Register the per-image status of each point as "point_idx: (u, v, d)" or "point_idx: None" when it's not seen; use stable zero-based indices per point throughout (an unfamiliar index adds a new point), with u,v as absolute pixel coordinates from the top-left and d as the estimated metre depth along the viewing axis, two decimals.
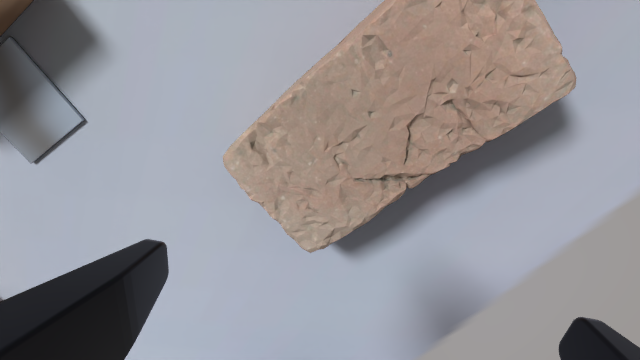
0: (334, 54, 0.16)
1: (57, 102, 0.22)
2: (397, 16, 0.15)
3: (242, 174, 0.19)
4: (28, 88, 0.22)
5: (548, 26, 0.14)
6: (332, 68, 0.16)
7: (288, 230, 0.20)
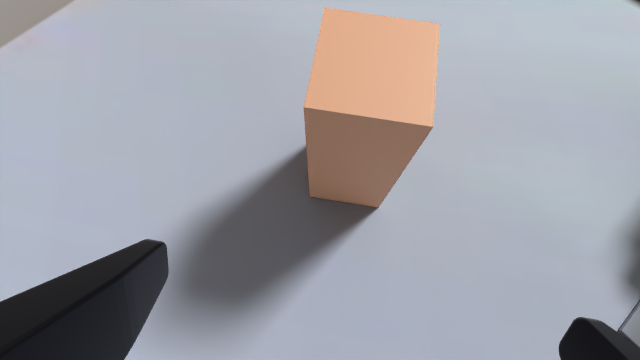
0: None
1: None
2: None
3: None
4: None
5: None
6: None
7: None
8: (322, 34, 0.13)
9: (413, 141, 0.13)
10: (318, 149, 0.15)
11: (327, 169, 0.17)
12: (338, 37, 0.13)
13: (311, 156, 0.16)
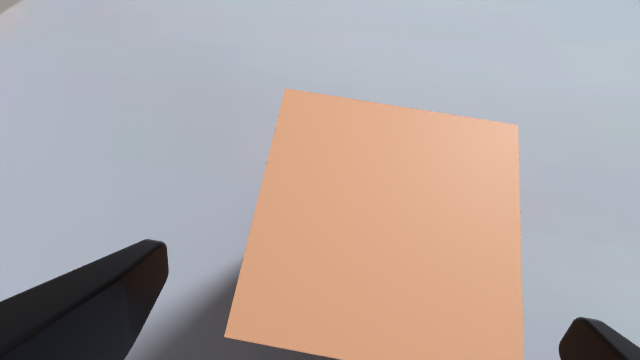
0: None
1: None
2: None
3: None
4: None
5: None
6: None
7: None
8: (277, 148, 0.06)
9: None
10: None
11: None
12: (310, 155, 0.06)
13: None
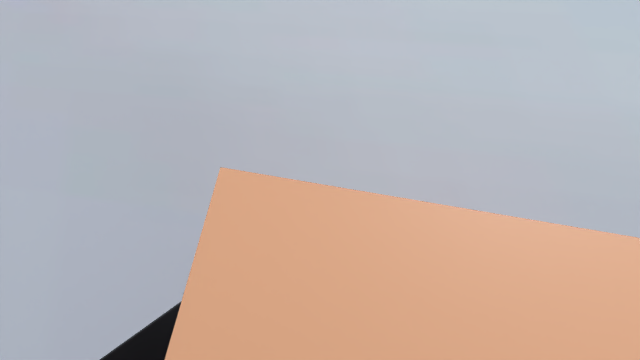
0: None
1: None
2: None
3: None
4: None
5: None
6: None
7: None
8: (198, 289, 0.03)
9: None
10: None
11: None
12: (259, 305, 0.03)
13: None
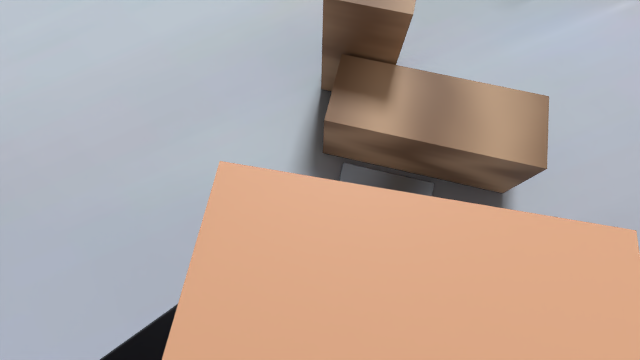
0: None
1: None
2: None
3: None
4: None
5: None
6: None
7: None
8: (198, 281, 0.03)
9: None
10: None
11: None
12: (258, 297, 0.03)
13: None
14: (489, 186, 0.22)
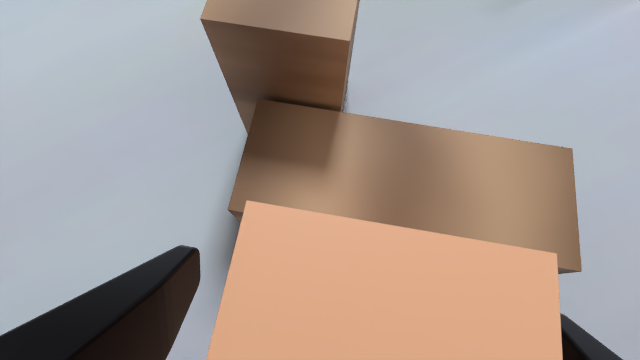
0: None
1: None
2: None
3: None
4: None
5: None
6: None
7: None
8: (233, 291, 0.05)
9: None
10: None
11: None
12: (277, 303, 0.05)
13: None
14: None
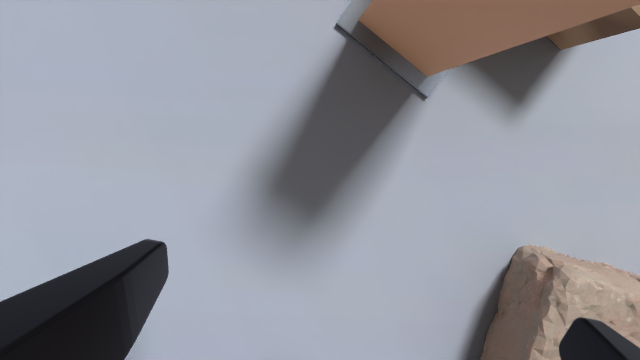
0: None
1: None
2: None
3: None
4: None
5: None
6: None
7: (608, 291, 0.17)
8: None
9: (588, 9, 0.08)
10: None
11: None
12: None
13: None
14: (554, 34, 0.18)
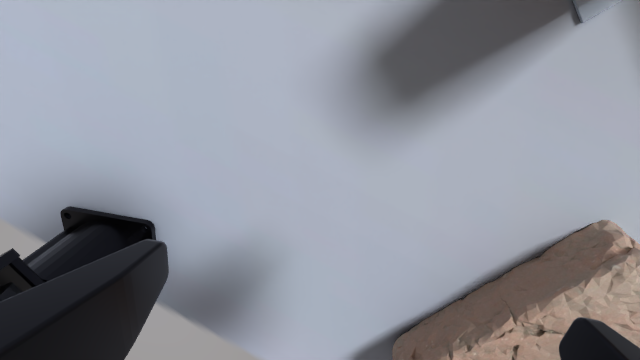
0: None
1: None
2: None
3: None
4: None
5: None
6: None
7: None
8: None
9: None
10: None
11: None
12: None
13: None
14: None
